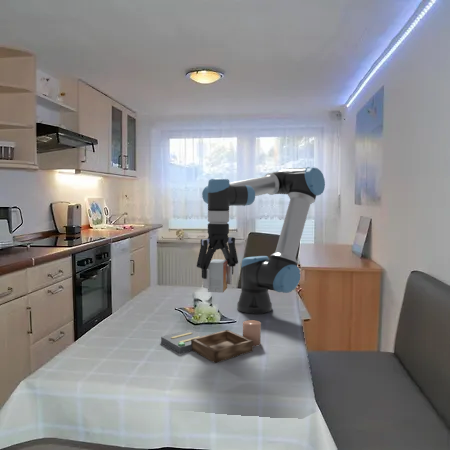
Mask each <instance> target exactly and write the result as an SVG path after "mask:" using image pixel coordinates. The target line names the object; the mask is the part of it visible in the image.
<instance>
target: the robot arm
mask: <svg viewBox="0 0 450 450" xmlns="http://www.w3.org/2000/svg"><path fill="white" fill-rule="evenodd" d="M325 187H326V180H325V177H324V173H323V172H322V171H321V170H320V169H319V168H318V167H310V166H306V167H293V168H292V167H291V168H285V169H280V170H276V171H273V172H268V173H266V174H265V175H264V176H260V177H254V178H248V179H244V180H237V181H232V182H230V179H228V178H211V179H208V183H207V186H205V187H204V188H203V190H202V193H201V196H202V199H203V202H204V203H206V204H207V222H208V224H207V234H208V236H207V238H204V239H203V238H202V239H200V249H199V252H198V258H197V262H196V268H198V269H201V279H202V282H203V283H202V287H203V288H205V289H208V288H209V280H210V270H209V269H208V266H209V264H210V262H211V261H212V260H213V257H214V254H215V253H216V252H217V250H221V253H222V254H223V256H224V258H225V259H224V260H227V261H228V264H227V285H230V286H231V285H233V275H234V267H236V265H237V264H238V263H239V260H238V254H237V249H236V244H235V243H236V237H233V236H232V237H231V236H229V233H230V223H229V222H230V206H237V207H239V206H240V207H241V206H242V207H245V206H250V205H252V204H253V203H254V201H255V199H256V197H258V196H262V195H263V196H264V195H266V194H267V195H270V196H273V195H287V196H288V198H289V204H288V207H287V210H286V213H285V217H284V220H283V224H282V227H281V231H280V235H279V237H278V241H277V245H276V249H275V251H274V253H272V254H270V256H267V255H258V256H257V255H256V256H255V255H254V256H248V257H243V259H242V260H241V267H240V268H241V270H240V271H241V275H240V276H241V277H240V279H241V285H240V286H241V291H240V294H239V298H238V301H237V305H236V306H237V307H236V309H237V310H238V312H242V313H245V314H253V315H255V314H257V315H258V314H261V315H262V314H266V313H267V314H268V313H270V312H272V310H273V303H272V302H271V298H270V293H269V290H270V291H273V292H276V293H283V294H284V293H285V294H288V293H291V292H292V291H294V290H295V289H296V288H297V287H298V285H299V283H300V280H301V270H300V268H299V267H298V264H299V263H298V261H297V258H296V257H297V253H298V250H299V247H300V242H301V239H302V236H303V232H304V228H305V225H306V221H307V217H308V214H309V210H310V206H311V205H312V204H313V203H315V202H316V197H317V196H320V195H322V194H323V193H324V190H325V189H326V188H325Z"/></svg>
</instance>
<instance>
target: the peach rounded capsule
mask: <svg viewBox="0 0 450 450" xmlns="http://www.w3.org/2000/svg"><path fill="white" fill-rule="evenodd" d="M261 325H262V323H261V322H260V321H259V320H255V319H254V320H253V319H250V320H244V321H243V322H242V336H243V337H246V338H248V339H250V340H253V347H259V346H260V345H261V332H262V331H261V328H262V326H261Z"/></svg>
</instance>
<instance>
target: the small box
mask: <svg viewBox="0 0 450 450" xmlns="http://www.w3.org/2000/svg"><path fill="white" fill-rule="evenodd" d="M227 265H228V261H227V260H226V259H221V258H220V259H218V258H215V259H214V258H212V259H211V262H210V264H209V266H208V269H209V270H210V280H209V288H207V292H208V293H221V294H223V293H224V292H225V291H226V290H227V289H228V284H227Z"/></svg>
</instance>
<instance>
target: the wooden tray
mask: <svg viewBox="0 0 450 450" xmlns="http://www.w3.org/2000/svg"><path fill="white" fill-rule="evenodd" d="M191 344H192V350H191V351H193V352H195V353H196V354H199V355H200V356H202V357H204V358H205V359H207V360H209V361H210V362H213V363H214V364H217V363H220V362H223V361H227V360H230V359H233V358H236V357H238V356H239V357H240V356H241V355H245V354H248V353H252V352H253V351H254V346H253V340H250V339H248V338H246V337H243V335H241V334H239V333H235V332H234V331H231V330H229V329H226V330H225V329H224V330H221V331H218V332H213V333H209V334H205V335H203V336H202V337H198V338H194V339H191Z"/></svg>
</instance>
